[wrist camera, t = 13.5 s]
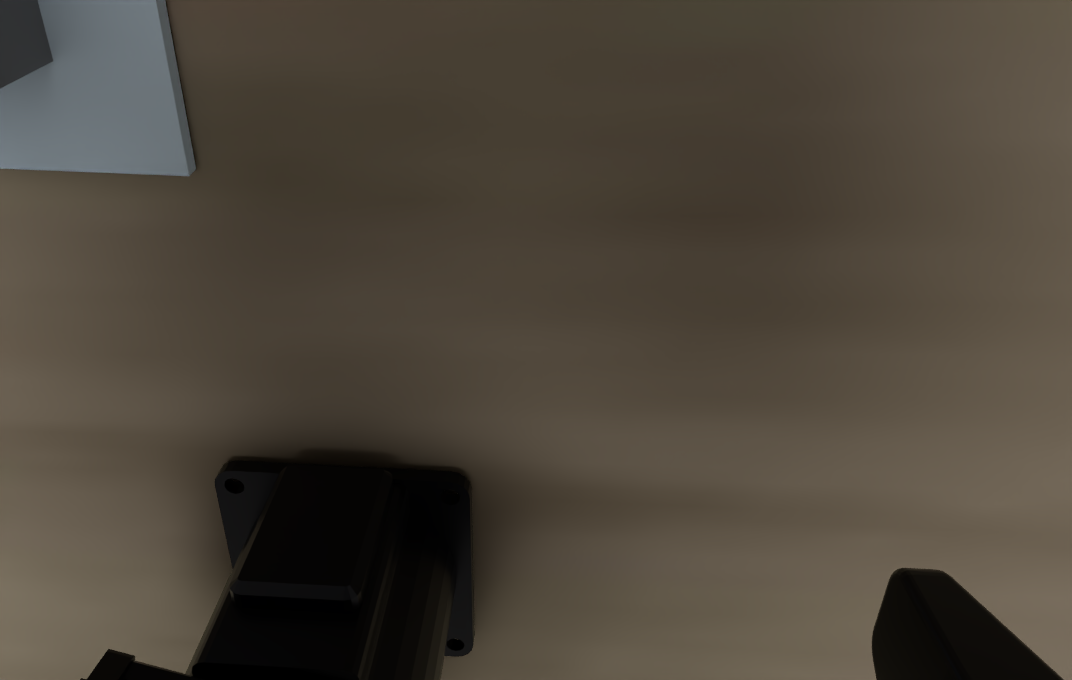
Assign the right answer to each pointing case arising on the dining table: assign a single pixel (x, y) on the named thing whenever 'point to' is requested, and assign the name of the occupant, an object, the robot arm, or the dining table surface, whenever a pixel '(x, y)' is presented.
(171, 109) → the pad
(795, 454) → the dining table surface
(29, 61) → the dark gray rectangular block
